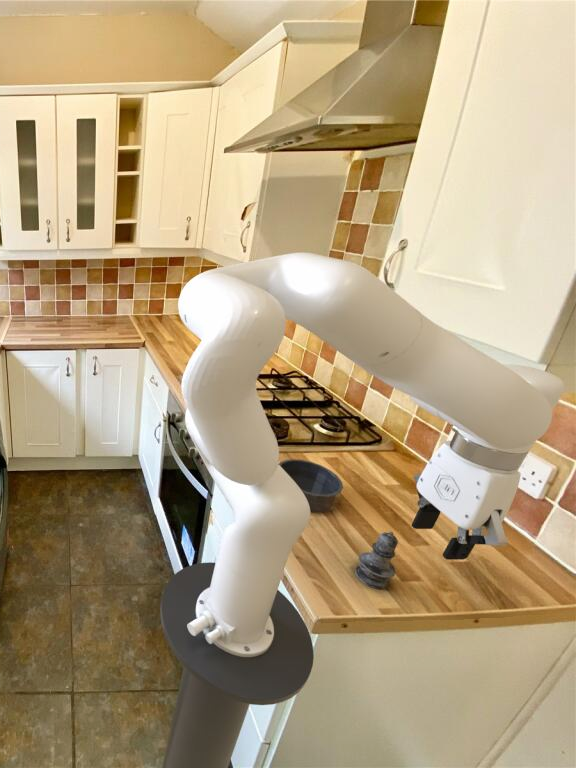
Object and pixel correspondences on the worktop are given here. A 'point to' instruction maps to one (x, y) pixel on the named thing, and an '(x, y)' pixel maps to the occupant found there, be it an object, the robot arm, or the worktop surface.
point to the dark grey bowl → (315, 483)
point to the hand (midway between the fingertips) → (437, 541)
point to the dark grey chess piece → (378, 562)
